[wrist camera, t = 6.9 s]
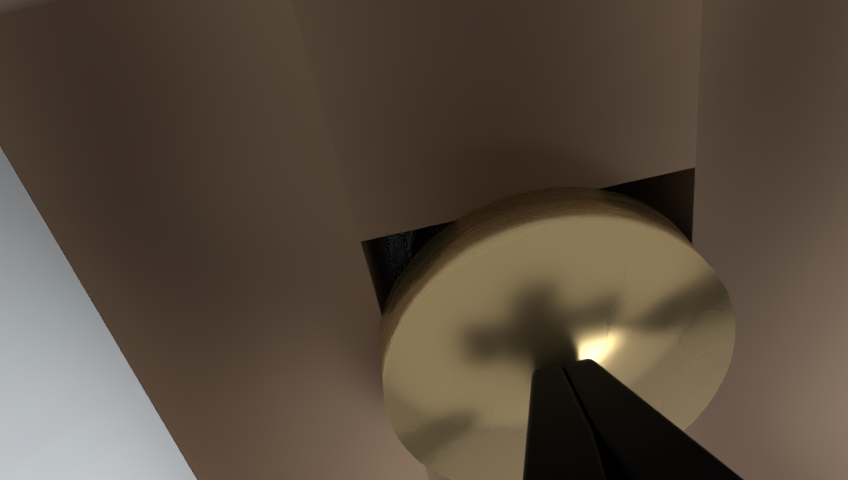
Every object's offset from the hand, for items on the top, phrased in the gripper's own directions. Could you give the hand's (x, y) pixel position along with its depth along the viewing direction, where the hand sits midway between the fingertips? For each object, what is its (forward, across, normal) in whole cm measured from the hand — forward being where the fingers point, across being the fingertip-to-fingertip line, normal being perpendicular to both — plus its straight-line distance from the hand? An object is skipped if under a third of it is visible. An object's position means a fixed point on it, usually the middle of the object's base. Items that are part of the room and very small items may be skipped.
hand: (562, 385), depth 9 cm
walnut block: (+6, 0, +7) cm, 9 cm away
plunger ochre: (+6, 0, 0) cm, 6 cm away
